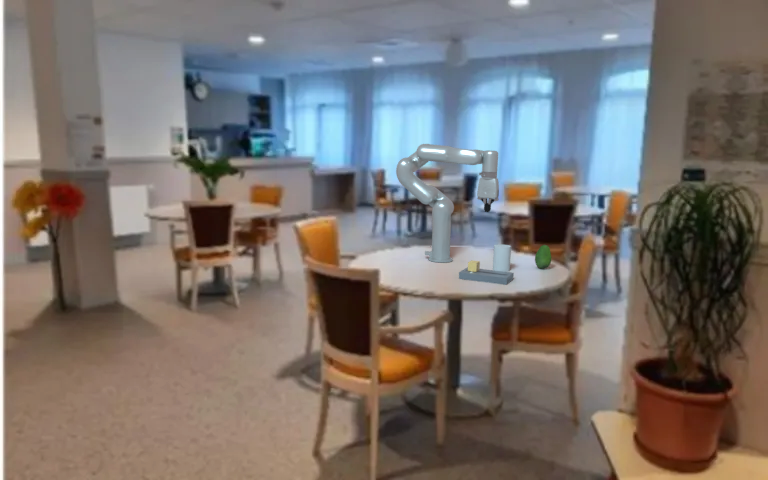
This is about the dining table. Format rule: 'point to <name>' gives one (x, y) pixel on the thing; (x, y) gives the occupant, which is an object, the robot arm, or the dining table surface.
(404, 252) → the dining table surface
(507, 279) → the board
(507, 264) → the light blue cylinder
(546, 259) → the avocado
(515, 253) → the dining table surface
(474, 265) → the fader knob
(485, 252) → the dining table surface
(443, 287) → the dining table surface
